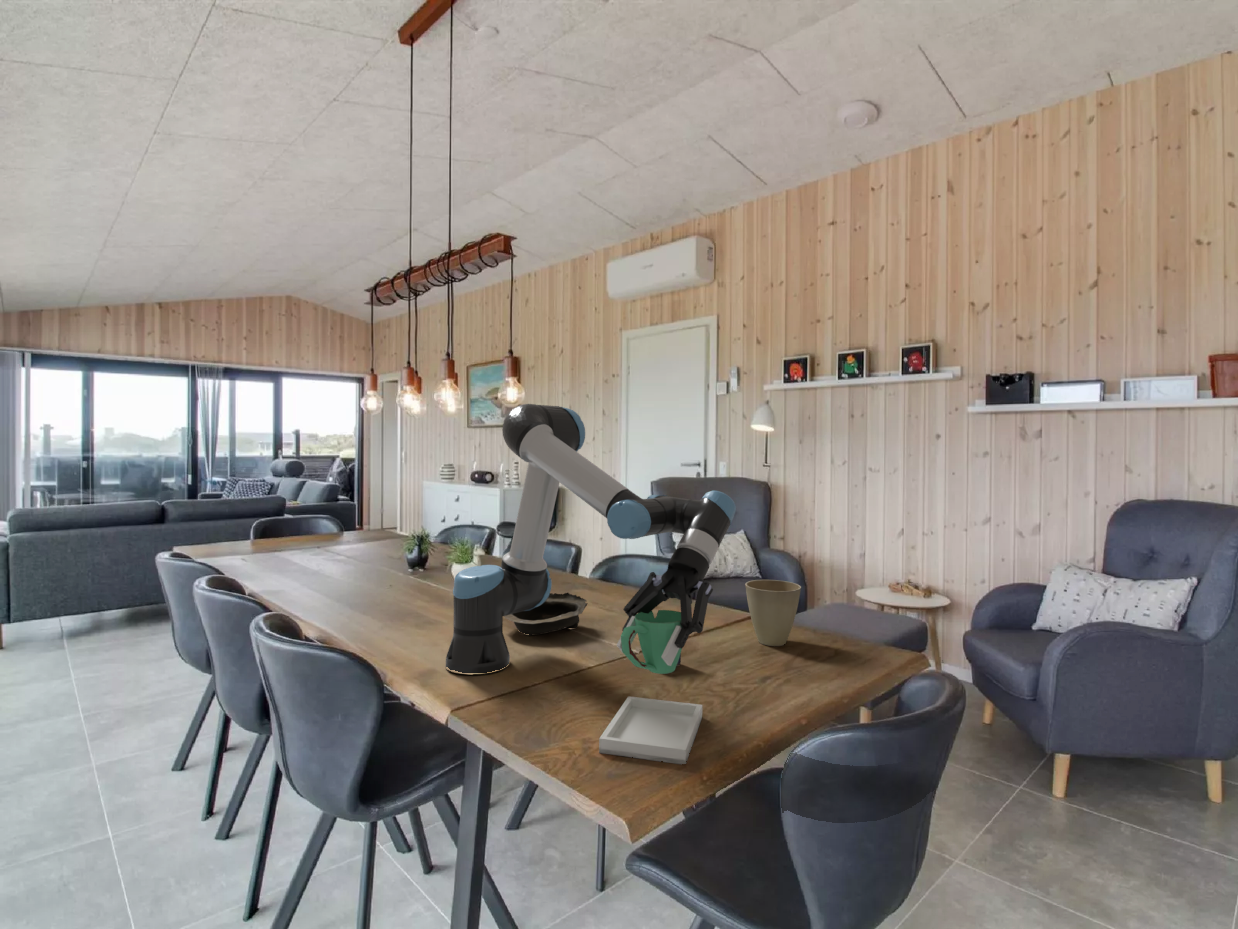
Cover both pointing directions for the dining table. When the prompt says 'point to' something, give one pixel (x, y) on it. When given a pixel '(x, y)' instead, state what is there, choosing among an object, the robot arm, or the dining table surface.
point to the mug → (652, 639)
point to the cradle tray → (652, 730)
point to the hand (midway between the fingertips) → (642, 655)
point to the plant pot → (772, 609)
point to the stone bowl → (550, 614)
